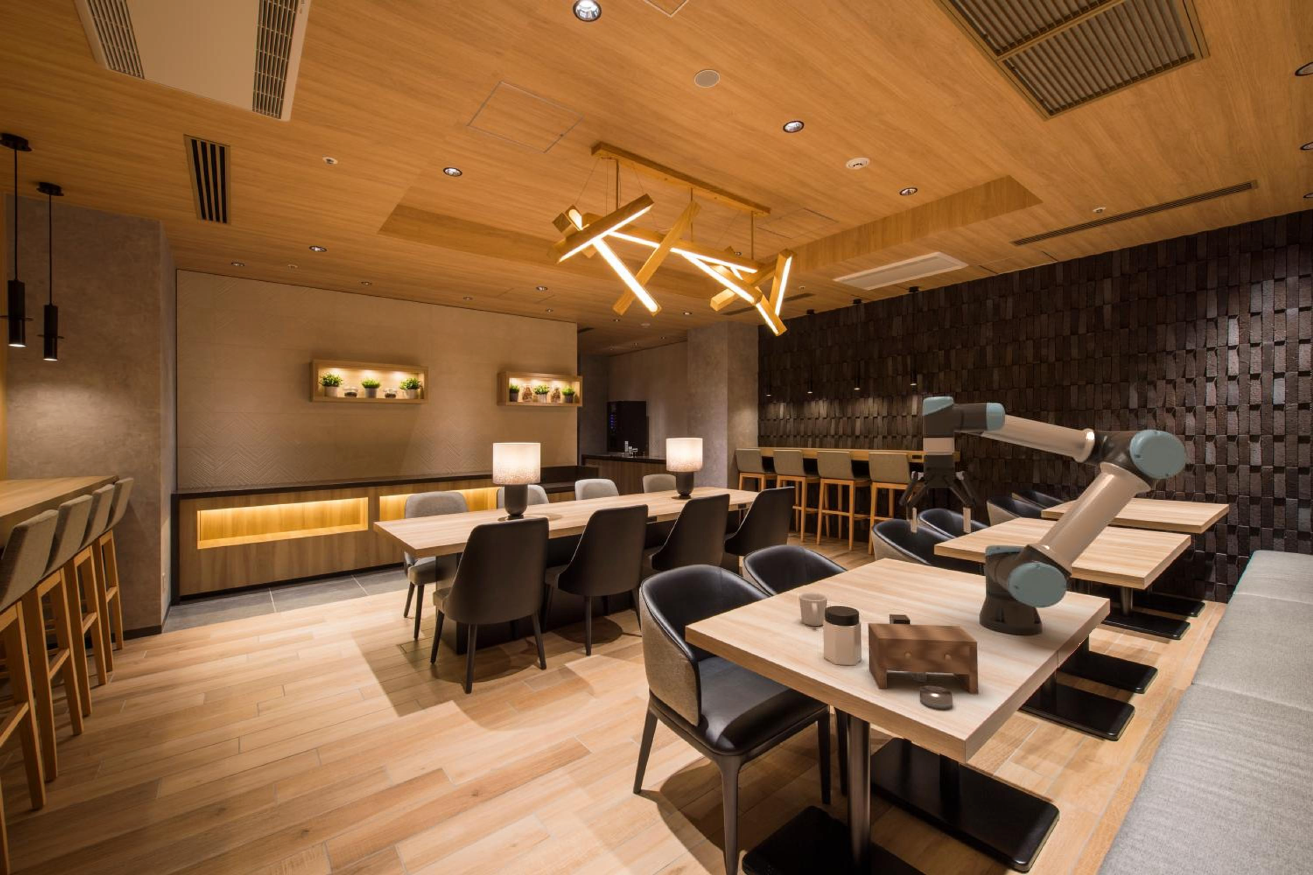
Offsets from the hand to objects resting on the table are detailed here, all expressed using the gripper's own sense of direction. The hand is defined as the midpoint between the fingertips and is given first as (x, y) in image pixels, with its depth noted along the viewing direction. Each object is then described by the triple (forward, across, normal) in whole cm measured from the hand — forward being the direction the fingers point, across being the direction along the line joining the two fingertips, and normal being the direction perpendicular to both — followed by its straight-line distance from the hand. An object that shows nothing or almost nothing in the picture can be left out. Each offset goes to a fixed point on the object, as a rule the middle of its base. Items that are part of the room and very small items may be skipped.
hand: (940, 532), depth 151 cm
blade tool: (+29, +14, +19) cm, 37 cm away
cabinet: (+29, +14, +29) cm, 43 cm away
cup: (+29, +33, -7) cm, 44 cm away
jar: (+29, +29, +18) cm, 45 cm away
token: (+29, +14, +40) cm, 51 cm away
